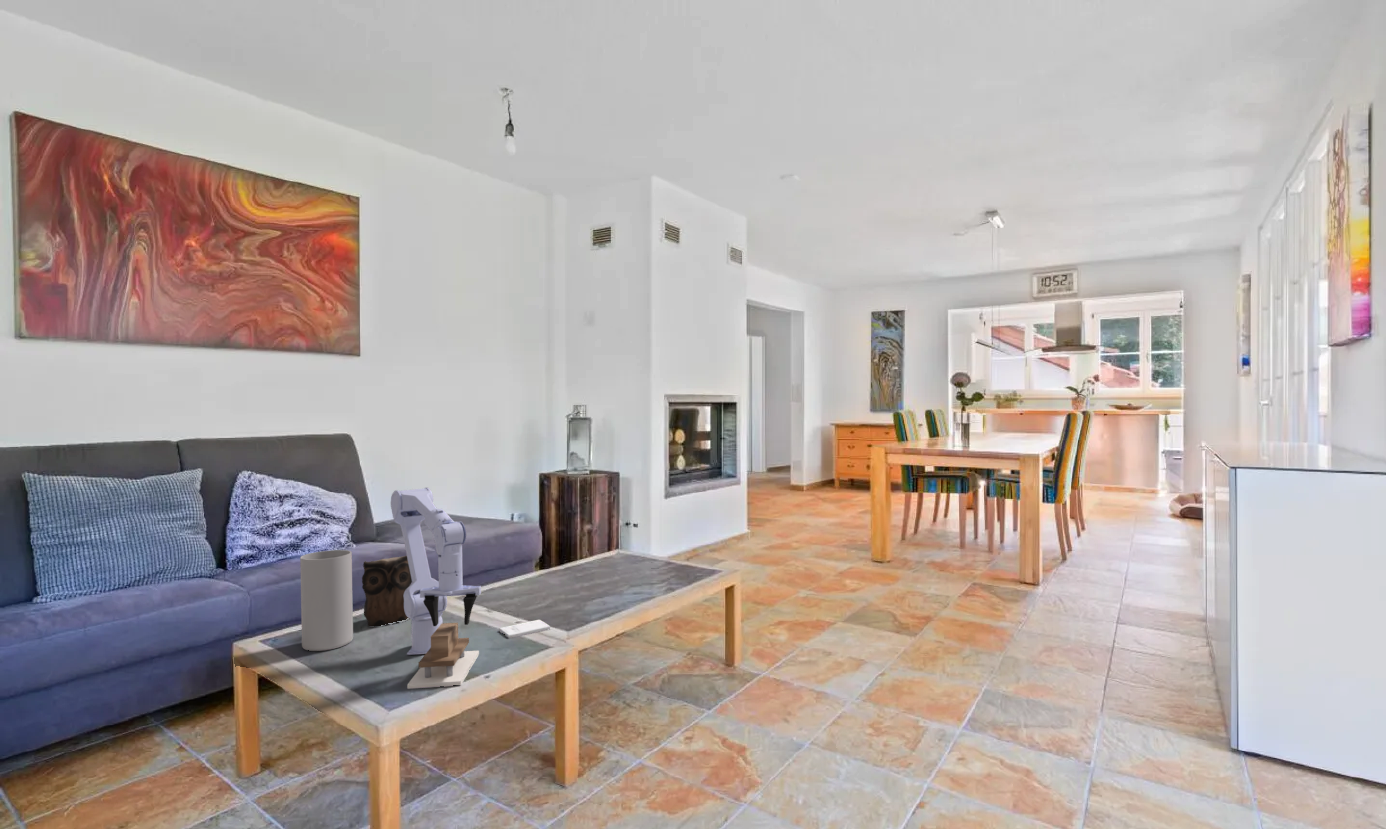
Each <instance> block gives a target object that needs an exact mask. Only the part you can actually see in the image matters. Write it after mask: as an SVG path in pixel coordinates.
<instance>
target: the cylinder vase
mask: <svg viewBox="0 0 1386 829" xmlns="http://www.w3.org/2000/svg"><path fill="white" fill-rule="evenodd" d="M352 554H353V553H352V551H351V550H346V549H334V550H330V549H329V550H323V551H315V552H310V553H306V554H303V555H301V556H300V567H299V568H300V599H301V600H300V607H301V608H300V611H301V612H300V613H301V620H300V622H301V647H302V648H303V649H304V650H306V651H308V650H309V652H310V651H311V652H324V651H330V650H334V649H338V648H341V647H344V646H346V645H349V643H351V642H352V640H353V639H354V615H353V614H354V612H353V610H354V609H353V607H354V606H353V604H354V603H353V561H352V559H353V557H352Z"/></svg>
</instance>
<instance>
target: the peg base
mask: <svg viewBox="0 0 1386 829" xmlns="http://www.w3.org/2000/svg"><path fill="white" fill-rule="evenodd" d="M479 655H480V650H464V651H463V652H462V654H461V656H460V657H459V659H458V660H457V662H456V663H455V665H454V666H440V667H423V668H418V670H417V671H416V673H415V674H414V676H412V678H411V679H410V680H409V682H408V683H407V690H410V689H422V688H423V689H424V688H425V689H426V688H441V687H440V686H444V687H454V686H453V685H460V686H462V685H463V683H464V681H465V680H466V677H467V676H468V674H469V672H470V671H469V670H471V668H472V667H473V665H474V664H475V662H476V660H477V658H478V657H479ZM461 684H462V685H461Z"/></svg>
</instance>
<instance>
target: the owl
mask: <svg viewBox="0 0 1386 829" xmlns="http://www.w3.org/2000/svg"><path fill="white" fill-rule="evenodd" d="M362 566H363V570H364V571H363V574H362V577H361V583H362V587H361V588H362V590H363V592H364V596H365V601H364V605H363V606H364V607H363V617H364V618H365V619H366V621H367V627H368V626H381V625H385V624H388V623H393V622H397V621H402V620H406V619H407V618H408V617H407V616H406V614H405V611H404V596H403V595H404V592H405V590H406V589H407V588H408V587H409V586H410V585H411V584H412V579H411V574H410V569H409V564H408V559H407V555H403V556H395V557H390V558H380V559H378V560H372V561H371V560H370V561H366V560H364V561H363V565H362ZM385 626H386V625H385Z"/></svg>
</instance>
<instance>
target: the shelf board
mask: <svg viewBox="0 0 1386 829" xmlns="http://www.w3.org/2000/svg"><path fill="white" fill-rule="evenodd" d="M468 644H470V637H459V622H444V623H442V624H441V625H440V626H439V627H438V629H437V630H436V631H435V632H434V633H433V635H432V636H431V648H430V649H429V650H428V652H427V653H426V654H423V656H422V657H421V659H420V660H419V661H418V669H420V668H423V667H440V666H454V665H455V663H456V662H457V660H458V659H459V657H460V656H461V654H462V652H463V651H465V649H466V647H467V646H468Z"/></svg>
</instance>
